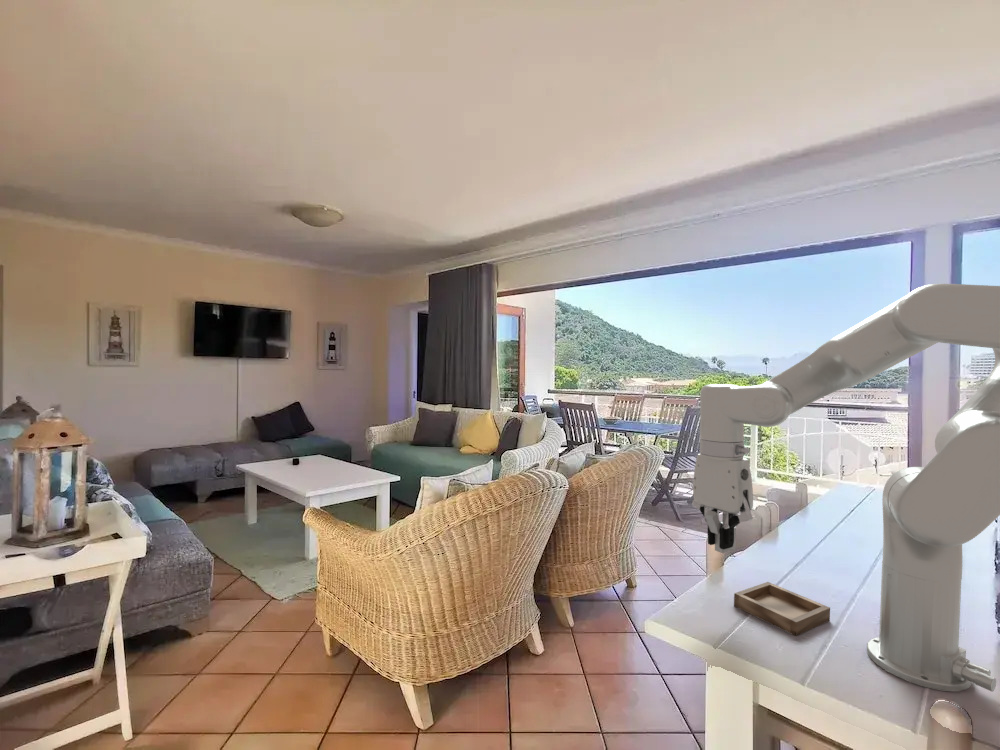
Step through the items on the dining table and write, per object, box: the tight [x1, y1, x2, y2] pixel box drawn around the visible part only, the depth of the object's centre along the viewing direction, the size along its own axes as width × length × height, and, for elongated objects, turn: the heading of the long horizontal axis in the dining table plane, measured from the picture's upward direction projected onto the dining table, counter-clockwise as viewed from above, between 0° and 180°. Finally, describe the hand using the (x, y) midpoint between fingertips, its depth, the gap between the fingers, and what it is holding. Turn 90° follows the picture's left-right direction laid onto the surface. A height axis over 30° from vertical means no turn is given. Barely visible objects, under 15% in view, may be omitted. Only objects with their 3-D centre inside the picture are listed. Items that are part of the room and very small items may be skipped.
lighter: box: [705, 510, 737, 554], centre depth 93 cm, size 7×2×8 cm, turn 119°
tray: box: [733, 581, 831, 637], centre depth 93 cm, size 12×11×2 cm
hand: (720, 544), depth 93 cm, fingers closed on lighter, 1 cm apart
